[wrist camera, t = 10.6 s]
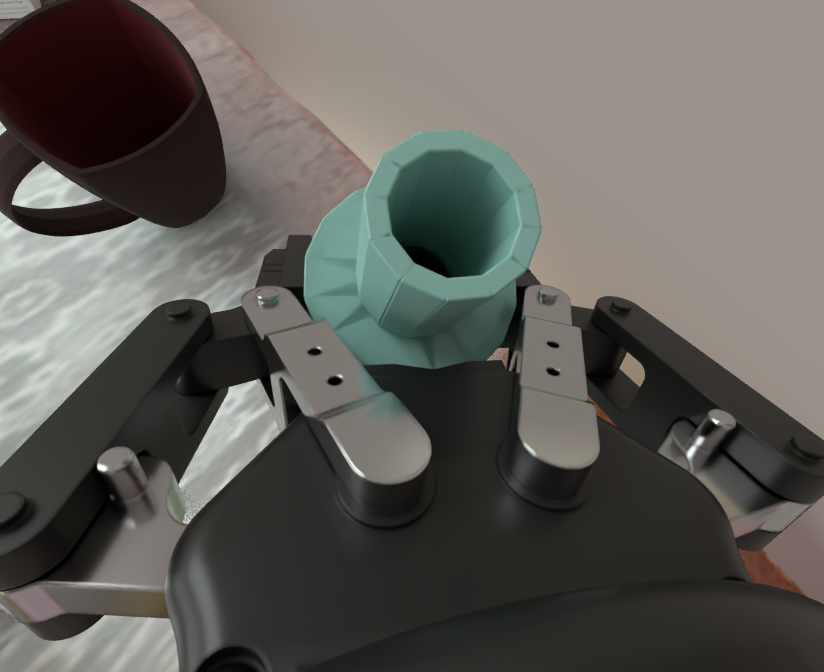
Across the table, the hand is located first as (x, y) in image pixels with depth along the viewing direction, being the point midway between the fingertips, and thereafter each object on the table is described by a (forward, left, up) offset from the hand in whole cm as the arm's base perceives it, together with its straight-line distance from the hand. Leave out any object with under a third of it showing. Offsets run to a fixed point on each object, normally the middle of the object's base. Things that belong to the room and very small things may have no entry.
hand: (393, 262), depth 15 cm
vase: (+1, -2, -8) cm, 8 cm away
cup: (-19, +4, -20) cm, 28 cm away
